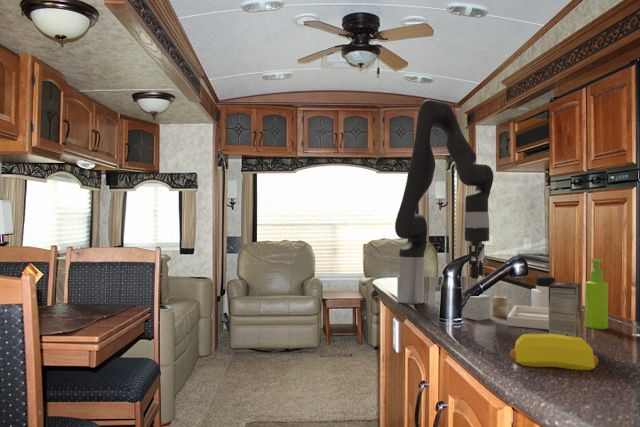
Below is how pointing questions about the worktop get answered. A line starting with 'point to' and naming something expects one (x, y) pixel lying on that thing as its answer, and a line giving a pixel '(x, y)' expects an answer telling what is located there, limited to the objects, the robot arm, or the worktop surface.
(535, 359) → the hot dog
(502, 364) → the worktop surface
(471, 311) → the product box
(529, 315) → the tray
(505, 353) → the worktop surface
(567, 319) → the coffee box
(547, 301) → the medicine bottle
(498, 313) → the beech block
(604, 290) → the soap dispenser
